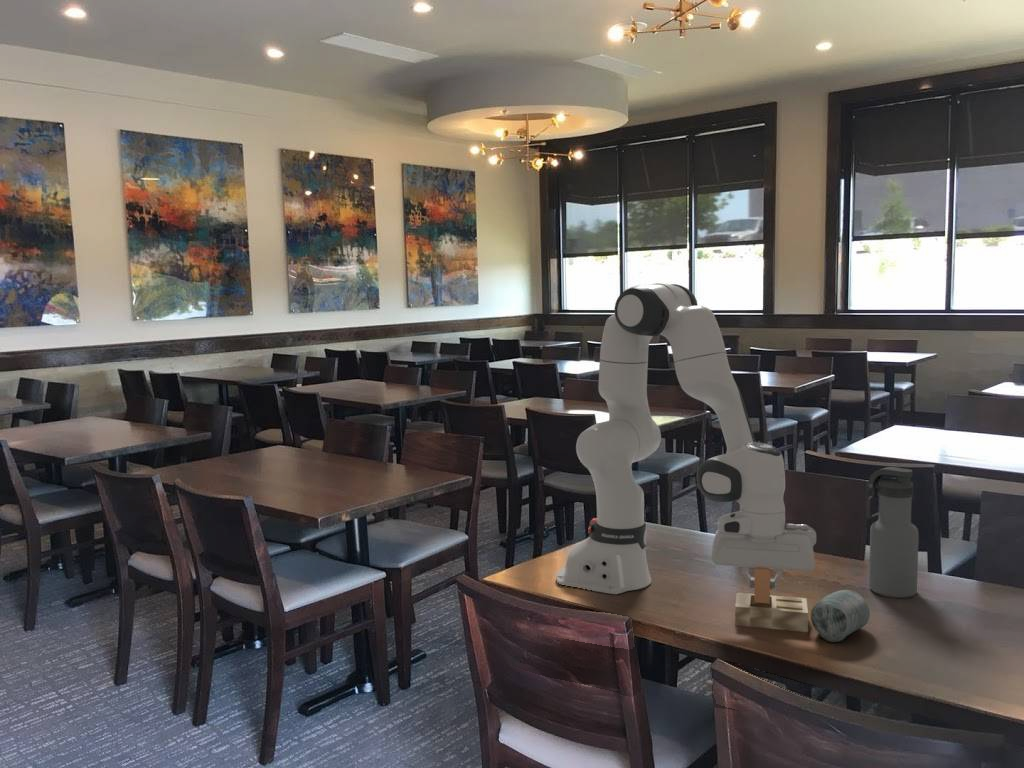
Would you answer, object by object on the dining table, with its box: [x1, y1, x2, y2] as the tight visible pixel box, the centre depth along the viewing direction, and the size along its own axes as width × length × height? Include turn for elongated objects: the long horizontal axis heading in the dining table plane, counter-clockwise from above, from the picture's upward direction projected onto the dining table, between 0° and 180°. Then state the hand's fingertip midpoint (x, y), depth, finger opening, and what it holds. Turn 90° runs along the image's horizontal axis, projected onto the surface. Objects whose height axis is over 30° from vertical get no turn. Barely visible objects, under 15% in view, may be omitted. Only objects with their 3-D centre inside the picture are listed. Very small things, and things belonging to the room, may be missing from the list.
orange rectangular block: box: [753, 568, 771, 603], centre depth 166 cm, size 3×5×7 cm, turn 163°
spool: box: [810, 589, 870, 643], centre depth 159 cm, size 14×10×10 cm
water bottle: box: [866, 466, 920, 599], centre depth 180 cm, size 10×10×28 cm
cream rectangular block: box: [734, 592, 809, 633], centre depth 166 cm, size 14×8×4 cm, turn 72°
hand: (762, 587), depth 166 cm, fingers closed on orange rectangular block, 3 cm apart
